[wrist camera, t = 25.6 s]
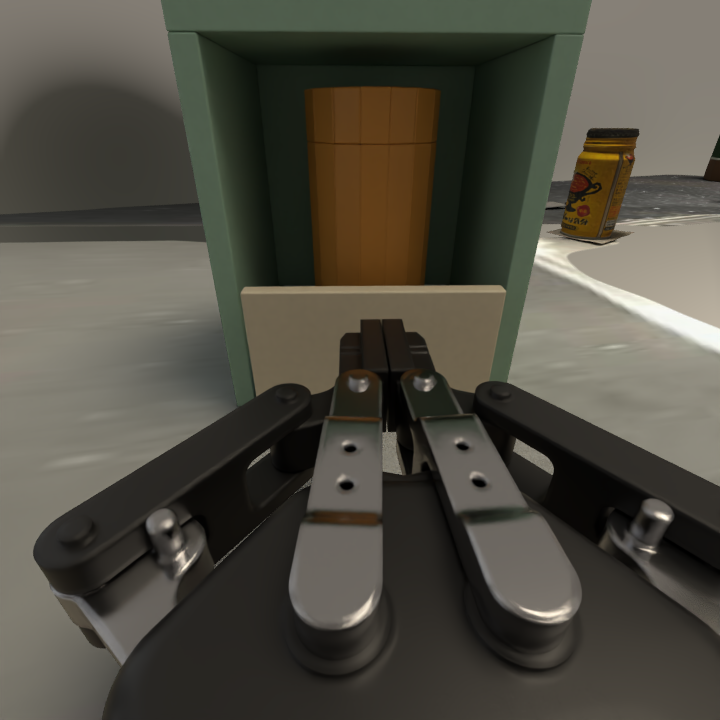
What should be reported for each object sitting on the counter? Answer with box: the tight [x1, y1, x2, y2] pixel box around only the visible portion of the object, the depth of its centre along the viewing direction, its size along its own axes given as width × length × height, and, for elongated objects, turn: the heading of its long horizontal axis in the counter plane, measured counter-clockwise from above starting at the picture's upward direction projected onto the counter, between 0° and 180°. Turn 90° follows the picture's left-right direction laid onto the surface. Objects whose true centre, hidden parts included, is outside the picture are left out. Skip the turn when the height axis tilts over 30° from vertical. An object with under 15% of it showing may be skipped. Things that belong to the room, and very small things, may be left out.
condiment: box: [548, 128, 639, 244], centre depth 50 cm, size 7×8×12 cm
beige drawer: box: [240, 284, 506, 397], centre depth 23 cm, size 11×11×6 cm
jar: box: [304, 86, 441, 286], centre depth 22 cm, size 6×6×13 cm
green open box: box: [161, 0, 592, 406], centre depth 22 cm, size 14×11×17 cm
